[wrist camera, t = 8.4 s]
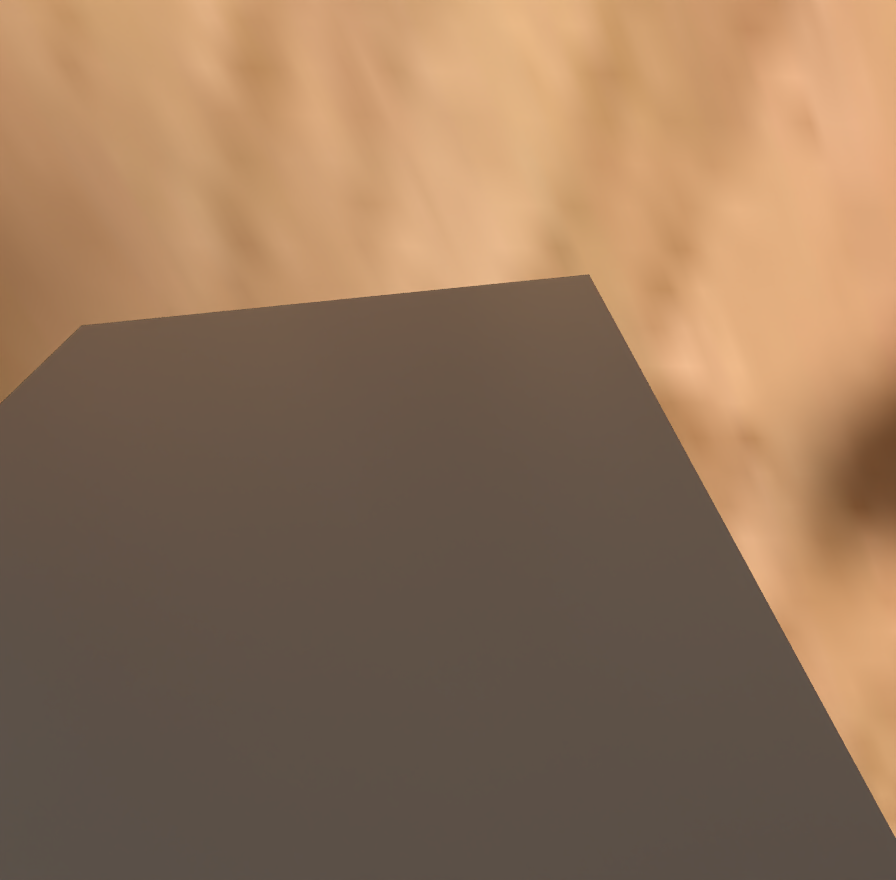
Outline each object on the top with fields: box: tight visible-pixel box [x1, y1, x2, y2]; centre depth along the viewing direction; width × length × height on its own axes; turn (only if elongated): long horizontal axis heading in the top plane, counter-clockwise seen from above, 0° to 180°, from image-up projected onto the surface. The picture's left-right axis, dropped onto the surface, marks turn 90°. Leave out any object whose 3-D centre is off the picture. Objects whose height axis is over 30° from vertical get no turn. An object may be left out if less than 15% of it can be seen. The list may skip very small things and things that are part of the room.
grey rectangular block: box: [0, 275, 896, 880], centre depth 10 cm, size 11×7×9 cm, turn 6°
